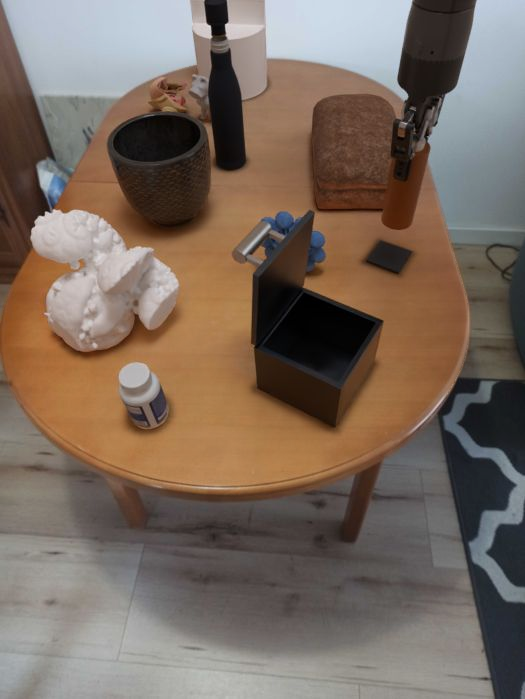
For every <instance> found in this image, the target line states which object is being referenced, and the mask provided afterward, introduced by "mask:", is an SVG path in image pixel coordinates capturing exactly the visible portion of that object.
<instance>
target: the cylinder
mask: <svg viewBox="0 0 525 699" xmlns="http://www.w3.org/2000/svg"><path fill="white" fill-rule="evenodd" d="M204 1H205V0H189V3H190V11H191V17H192V25H191V31H192V38H193V40H192V41H193V46H194V47H193V48H194V53H195V55H194V56H195V60H196V61H195V62H196V68H197V75H198V76H204V77H206V78H207V79H208V77H209V75H210V72H211V67H212V65H211V56H210V50H211V44H210V41H211V38H212V36H211V26H210V25H208V24H207V23H206V15H205V6H204ZM227 7H228V19H229V22H228V23H227V24H225V30H226V35H225V36H227V38H228V40H229V43H228V44H229V48H230V50H231V59H232V66H233V69H234V71H235V74H236V76H237V79H238V82H239V86H240V90H241V96H242V101H246V100H249V99H253V98H254V97H256V96H259V95H260V94H262V93H263V92H265V90H266V88H267V87H268V64H267V63H268V60H267V28H266V27H267V26H266V0H227ZM258 90H259V91H258ZM254 92H255V93H254Z"/></svg>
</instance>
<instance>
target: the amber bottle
mask: <svg viewBox="0 0 525 699" xmlns="http://www.w3.org/2000/svg"><path fill="white" fill-rule="evenodd" d="M417 135H418V134H417ZM430 152H431V144H430V142H429V141H428V142H427V141H426V140H425V138H423V140H422V141H420V142H418V145H417V148H416V151H415V156H414V158H413V162H412V167H411V171H410V176H409V178H408V180H407V181H406V182H403V181H400V180H397V179H394V177H393V172H394V167H395V162H396V159H395V158H392V162H391V167H390V173H389V178H388V184H387V189H386V195H385V200H384V206H383V209H382V212H381V216H380V219H381V223H382V224H383V226H384V227H386V228H388V229H391V230H394V231H403V230H406V229H409V228H410V227H411V226H412V225H413V222H414V217H415V213H416V210H417V206H418V202H419V198H420V194H421V189H422V185H423V181H424V177H425V173H426V169H427V165H428V161H429V157H430Z"/></svg>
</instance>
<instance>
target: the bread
mask: <svg viewBox="0 0 525 699" xmlns="http://www.w3.org/2000/svg"><path fill="white" fill-rule="evenodd" d="M396 118H397V116H396V112H395V109H394V107H393V105H392V104H391V103H390V102H389V100H387V99H386V98H384V97H383V96H380V95H376V94H371V93H348V94H347V93H346V94H345V93H344V94H343V93H342V94H335V95H334V94H333V95H330V96H327V97H323V98H321V100H319V101H317V102H316V103H315V105H314V106H313V108H312V120H311V145H312V158H313V184H314V197H315V201H316V205H317V206H316V207H317V208H318V209H321V210H347V209H349V210H350V209H351V210H352V209H381V210H383V206H384V200H385V195H386V189H387V184H388V178H389V173H390V167H391V162H392V157H390V153H391V142H392V131H393V122H394V121H395V119H396Z"/></svg>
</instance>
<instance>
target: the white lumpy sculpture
mask: <svg viewBox="0 0 525 699" xmlns="http://www.w3.org/2000/svg"><path fill="white" fill-rule="evenodd" d="M33 223H34V226H33V227H32V228H31V230H30V233H31V234H30V238H29V239H30V242H31V243H32V244H31V246H32V247H33V249H34V251H35V252H36V253H37V255H39V256H40V257H42V258H44V259H47V260H51V261H53V262H55V263H59V264H68V265H69V268H70V269H71V270H76V271H69V272H66V273H64V274H61V275H60V276H59V277H58V278H56V280H55V281H54V282H53V283H52V284H51V287H50V288H49V290H48V292H47V294H46V297H45V305H46V306H45V307H46V308H45V309H46V312H43V314H44V316H45V317H46V318H47V319H46V320H47V324H48V326H49V327H50V328H51V331H52V332H54V333H55V334H56V335H57V336H59V337H60V338H62V340H63V341H64V342H65V344H67V345H68V346H69V347H71V348H72V349H74V350H75V351H78V352H79V351H80V352H83V353H84V352H85V353H88V352H89V353H90V352H93V351H101V350H108V349H111V348H112V347H115V346H118V345H119V344H120V343H121V342H122V341H123V340H124V339H125V338H127V337H128V336H129V335H130V333H131V331H132V330H133V328H134V325H135V322H136V321H135V317H136V316H135V315H138V318H139V320H140V321H141V323H142V324H143V326H144V327H145V328H146V329H147V330H148V331H154V330H156V329H158V328H159V327H160V326H161V325H162V324H164V322H165V321H166V319H167V318H168V317H169V315H170V314H171V313H172V312H173V309H174V308H175V307H176V306H177V298H178V296H179V291H180V283H179V280H178V279H177V275H175V273H174V272H173V271H172V268H171V267H169V266H168V265H166V264H165V263H164V262H162V261H161V260H160V259H158V258H157V257H155V256H154V251H155V248H152V247H147V246H145V247H142V246H141V245H137V246H135V247H129V249H128V248H127V245H126V242H125V241H124V239H123V238H122V236H121V235H120V234H119V233H118V232H117V230H115V229H114V228H113V227H112V225H111V224H110V223H108V221H107V220H104V218H103V217H100V216H99V215H98V214H94V213H90V212H89V211H87V210H81V209H72V210H70V211H69V212H64V213H63V211H61V209H55V208H54V209H52V212H49V211H44V215H43V216H42V215H38V216H37V218H36V219H35V220H34V222H33ZM79 260H82V261H83V262H82V265H83V267H81V264H80V262H79ZM80 267H81V268H80Z"/></svg>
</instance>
